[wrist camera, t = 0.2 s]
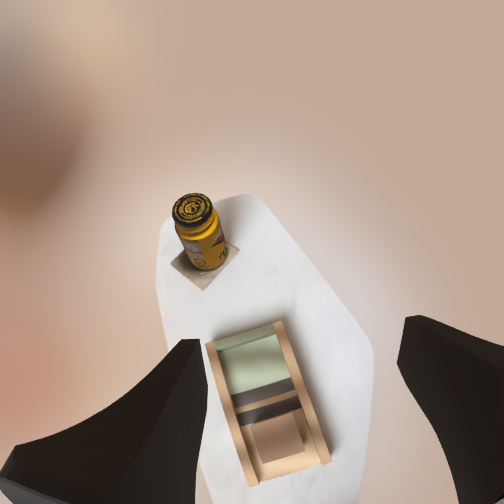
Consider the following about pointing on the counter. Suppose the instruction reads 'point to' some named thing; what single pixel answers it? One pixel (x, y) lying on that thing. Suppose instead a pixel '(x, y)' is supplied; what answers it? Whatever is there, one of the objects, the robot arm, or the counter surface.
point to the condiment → (200, 240)
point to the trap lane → (264, 398)
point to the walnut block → (277, 438)
